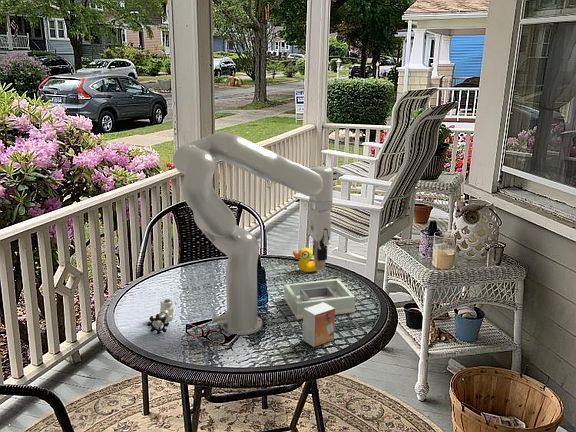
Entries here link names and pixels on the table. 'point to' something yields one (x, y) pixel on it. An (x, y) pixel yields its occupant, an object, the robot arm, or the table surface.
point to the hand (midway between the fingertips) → (319, 257)
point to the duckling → (305, 260)
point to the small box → (318, 324)
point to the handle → (318, 264)
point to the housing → (319, 296)
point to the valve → (162, 316)
